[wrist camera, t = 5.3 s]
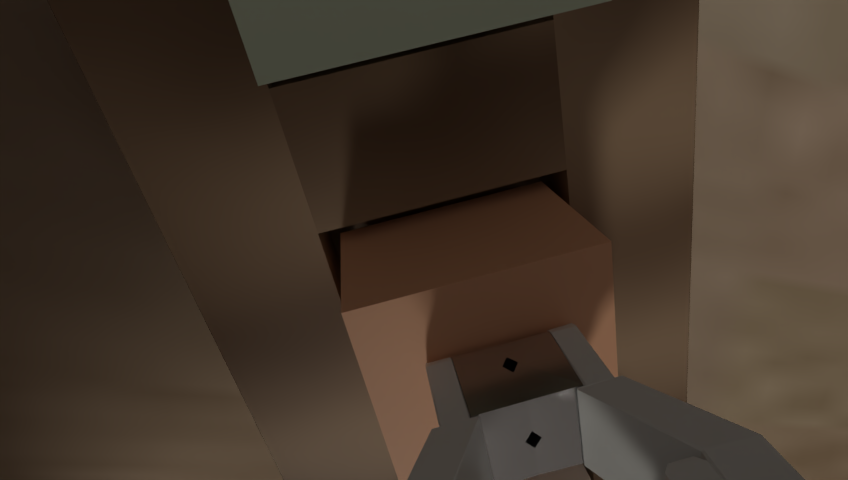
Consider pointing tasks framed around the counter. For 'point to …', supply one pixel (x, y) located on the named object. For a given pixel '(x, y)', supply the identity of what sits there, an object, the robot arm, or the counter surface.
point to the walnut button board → (393, 181)
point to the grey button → (564, 474)
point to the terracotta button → (467, 295)
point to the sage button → (366, 28)
